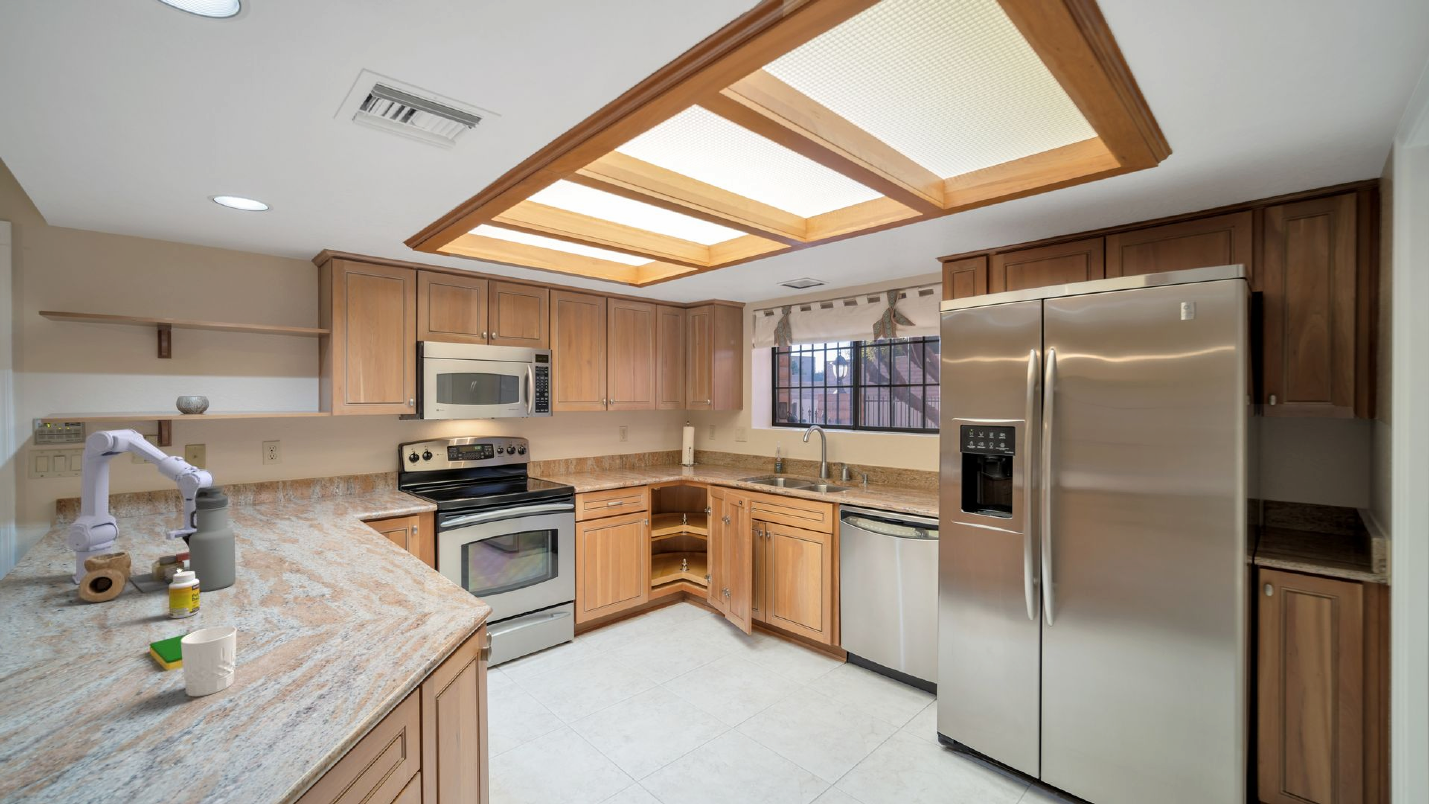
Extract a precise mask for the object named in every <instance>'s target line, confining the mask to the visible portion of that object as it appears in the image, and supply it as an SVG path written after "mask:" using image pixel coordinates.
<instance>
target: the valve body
mask: <svg viewBox="0 0 1429 804" xmlns="http://www.w3.org/2000/svg"><path fill="white" fill-rule="evenodd" d="M184 567H185V562H184V561H179V562H178V561H176V562H174V563H170V564H159V559H158V560H155V561H154V562H152V563H151V573H152V578H153V579H154V580H155V581H156V582H159V581H165V582H166V583H167V584H169V585H170V584H171V583H172V582H173V575H174V574H177V573H180V572H185V571H184Z"/></svg>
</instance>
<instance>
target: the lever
mask: <svg viewBox="0 0 1429 804" xmlns="http://www.w3.org/2000/svg"><path fill="white" fill-rule="evenodd" d="M158 560H159V564H170V563H174V562H176V561H178V562H179V561H183V562H184V561H189V551H186V552H180V553H176V554H174V555H171V554H170V555H165V556H160V557H159V558H158Z"/></svg>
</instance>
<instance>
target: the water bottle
mask: <svg viewBox="0 0 1429 804" xmlns="http://www.w3.org/2000/svg"><path fill="white" fill-rule="evenodd" d="M223 489H224V488H223V486H219V485H212V486H210V487H201V488H199V489H198V490H197V492H196V495H195V504H196V505H195V507H196V509H195V511H193V512H191V514H190V526H191V527H192V528H194V529H197V531H196V532H195V533H194V534H192V535H191V536H190V538H189V547H188V552H189V560H188V561H189V565H188V566H190V571H194V572H195V579H198V580H199V593H201V592H205V593H206V592H212V591H218V590H221V589H222V590H223V589H224V588H229V587H231V586H233V585H234V584H235V582H236V578H237V577H236V535H235V534H236V533H235V532H234V530H232V529H231V528H229V527H228V508H229V506H228V505H229V497H228V496H227V495H225V494H222V491H223ZM195 514H196V522H197V526H195V525H194V515H195Z"/></svg>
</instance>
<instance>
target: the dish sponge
mask: <svg viewBox="0 0 1429 804" xmlns="http://www.w3.org/2000/svg"><path fill="white" fill-rule="evenodd" d="M191 633H192V632H190V633H186V634H182V635H179V636H174V637H170V638H166V639H162V640H158V641H153V642H151V643H150V644H149V654H150V655H151V656H152V657H153V658H154V659H155V660H156V662H158V663H159V664H160V665H161V666H162V667H163V668H164V669H165V671H167V672H168V671H171V670H175V669H178V668H183V662H182V649H181V639H182V638H183V637H185V636H186V635H188V634H191Z"/></svg>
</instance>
